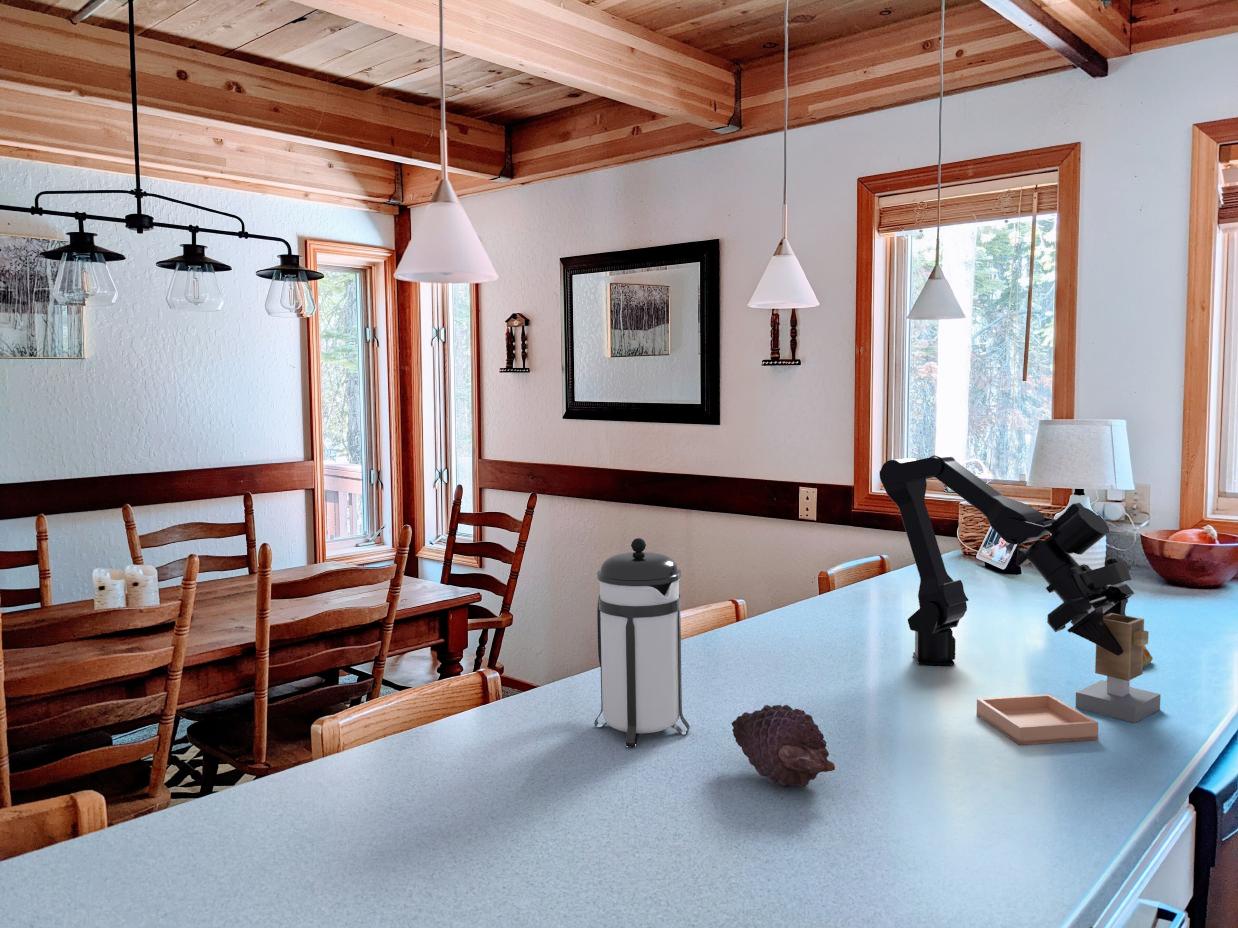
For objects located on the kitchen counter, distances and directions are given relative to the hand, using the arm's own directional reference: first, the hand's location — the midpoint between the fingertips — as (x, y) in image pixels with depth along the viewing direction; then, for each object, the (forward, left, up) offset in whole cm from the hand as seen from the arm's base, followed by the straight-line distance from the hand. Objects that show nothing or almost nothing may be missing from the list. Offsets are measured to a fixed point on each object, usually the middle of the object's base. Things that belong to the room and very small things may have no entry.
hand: (1128, 650), depth 141 cm
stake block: (-1, +1, -10) cm, 10 cm away
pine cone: (-55, -31, -10) cm, 64 cm away
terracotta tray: (-16, -8, -10) cm, 21 cm away
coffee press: (-77, -15, -10) cm, 79 cm away
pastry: (+10, +25, -10) cm, 29 cm away
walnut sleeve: (-1, +1, -4) cm, 4 cm away
